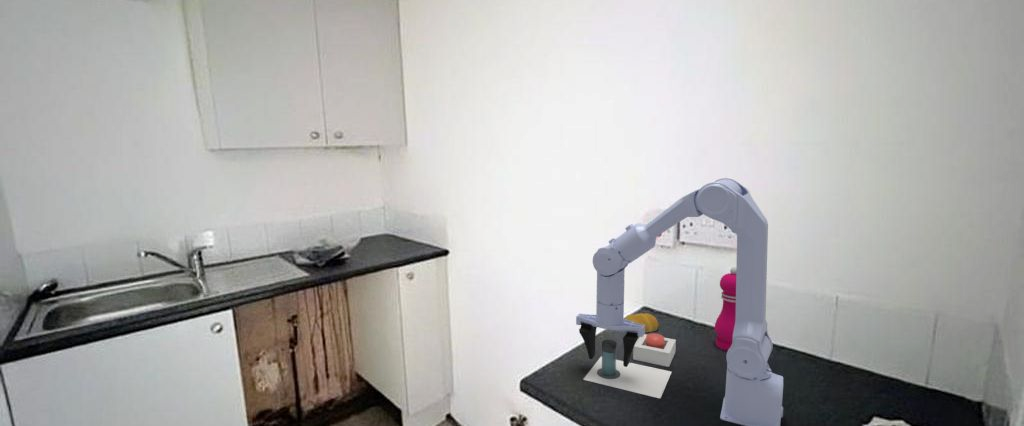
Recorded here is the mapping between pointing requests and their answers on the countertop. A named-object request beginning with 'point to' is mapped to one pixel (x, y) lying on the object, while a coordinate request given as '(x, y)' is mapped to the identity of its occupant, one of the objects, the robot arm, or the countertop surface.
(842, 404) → the countertop surface
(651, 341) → the button
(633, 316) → the bread roll
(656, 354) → the button housing
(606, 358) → the teal cylinder
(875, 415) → the countertop surface
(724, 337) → the pepper mill
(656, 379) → the paper
